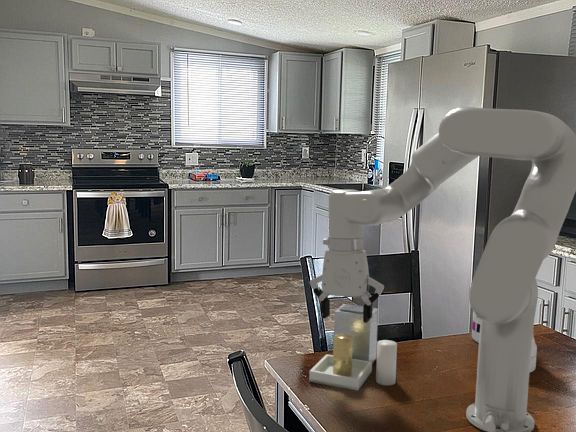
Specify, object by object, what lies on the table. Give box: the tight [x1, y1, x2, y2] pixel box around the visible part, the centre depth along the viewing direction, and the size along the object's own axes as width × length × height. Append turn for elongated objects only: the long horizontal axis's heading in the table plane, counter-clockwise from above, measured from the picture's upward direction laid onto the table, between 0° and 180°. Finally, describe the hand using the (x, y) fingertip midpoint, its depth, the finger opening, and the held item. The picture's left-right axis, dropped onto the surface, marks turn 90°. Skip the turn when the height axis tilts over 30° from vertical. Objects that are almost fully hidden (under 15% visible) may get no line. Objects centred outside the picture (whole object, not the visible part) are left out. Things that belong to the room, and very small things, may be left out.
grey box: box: [333, 303, 379, 364], centre depth 143 cm, size 7×9×13 cm
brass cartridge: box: [332, 334, 353, 377], centre depth 133 cm, size 4×4×9 cm
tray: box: [308, 353, 373, 392], centre depth 133 cm, size 11×11×2 cm
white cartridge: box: [375, 339, 398, 386], centre depth 131 cm, size 4×4×9 cm
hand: (346, 318), depth 131 cm, fingers open, 9 cm apart
